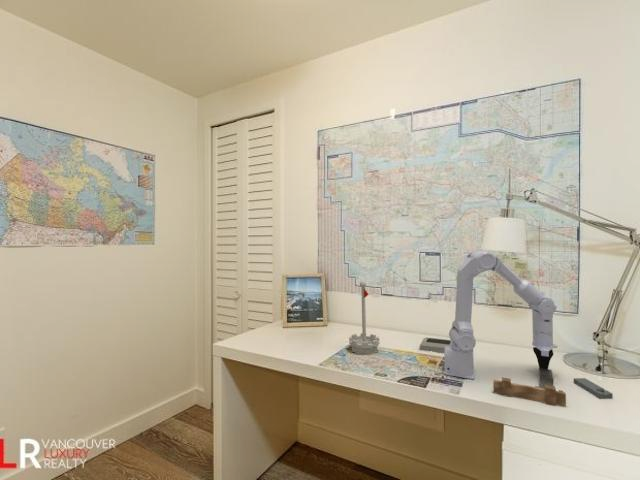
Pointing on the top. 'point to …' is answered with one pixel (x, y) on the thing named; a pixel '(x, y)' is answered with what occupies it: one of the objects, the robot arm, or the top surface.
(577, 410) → the top surface
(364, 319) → the flag stand
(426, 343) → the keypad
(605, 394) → the bracket
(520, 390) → the brown wooden bar
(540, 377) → the block
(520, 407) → the top surface
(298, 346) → the top surface
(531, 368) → the top surface
